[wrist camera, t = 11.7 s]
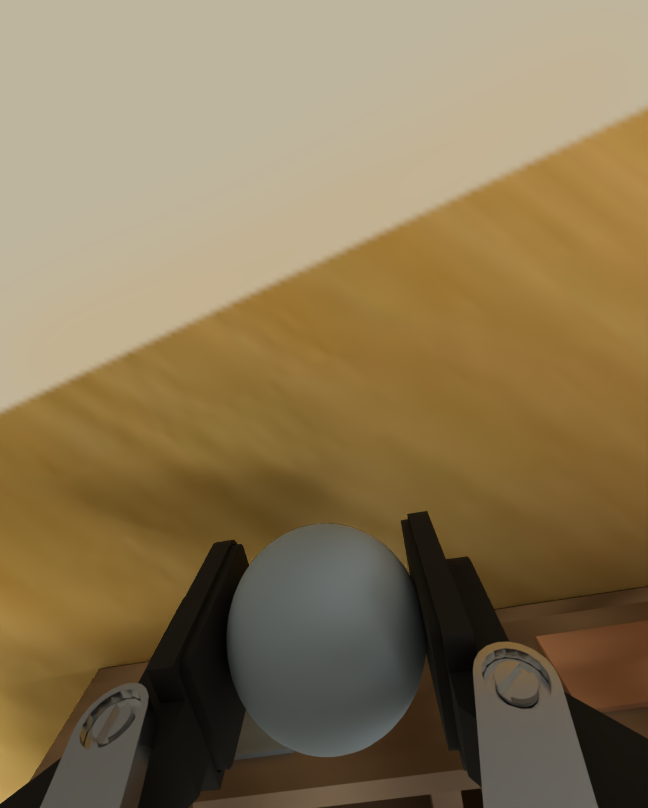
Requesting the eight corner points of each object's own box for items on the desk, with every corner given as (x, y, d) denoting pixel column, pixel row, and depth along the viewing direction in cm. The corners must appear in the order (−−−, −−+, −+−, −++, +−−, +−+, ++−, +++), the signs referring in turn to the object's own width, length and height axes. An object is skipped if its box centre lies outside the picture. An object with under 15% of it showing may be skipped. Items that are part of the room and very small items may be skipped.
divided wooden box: (753, 566, 14) (966, 701, 9) (734, 730, 16) (898, 906, 11) (97, 665, 16) (-2, 821, 11) (160, 801, 18) (101, 979, 13)
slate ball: (395, 478, 10) (433, 611, 6) (418, 613, 12) (464, 808, 7) (235, 503, 11) (160, 644, 6) (272, 631, 12) (231, 824, 8)
